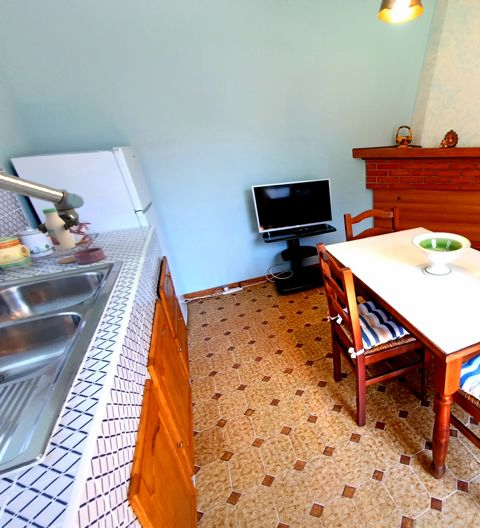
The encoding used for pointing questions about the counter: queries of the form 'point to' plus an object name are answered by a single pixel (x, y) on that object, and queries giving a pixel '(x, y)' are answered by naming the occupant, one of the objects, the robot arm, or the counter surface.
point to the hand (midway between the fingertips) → (54, 229)
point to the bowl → (89, 255)
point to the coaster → (67, 260)
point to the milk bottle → (57, 230)
